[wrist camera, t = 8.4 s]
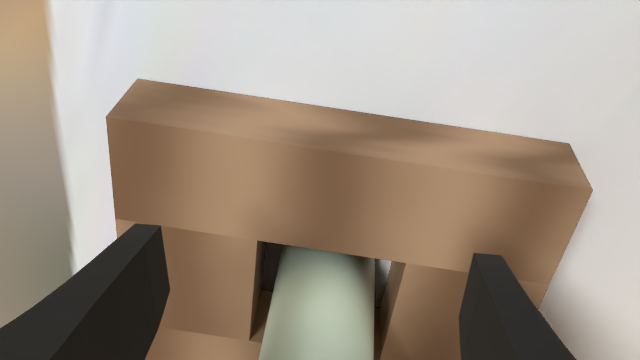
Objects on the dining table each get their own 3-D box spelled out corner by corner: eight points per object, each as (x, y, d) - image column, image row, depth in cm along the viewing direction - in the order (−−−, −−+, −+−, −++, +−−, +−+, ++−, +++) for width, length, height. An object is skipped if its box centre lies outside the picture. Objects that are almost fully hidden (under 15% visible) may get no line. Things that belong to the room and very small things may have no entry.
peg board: (569, 143, 22) (592, 190, 19) (469, 383, 30) (477, 438, 27) (137, 78, 22) (105, 116, 19) (151, 335, 30) (130, 385, 27)
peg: (362, 208, 24) (355, 368, 18) (384, 279, 26) (384, 447, 20) (270, 224, 25) (230, 383, 19) (298, 292, 27) (271, 456, 21)
